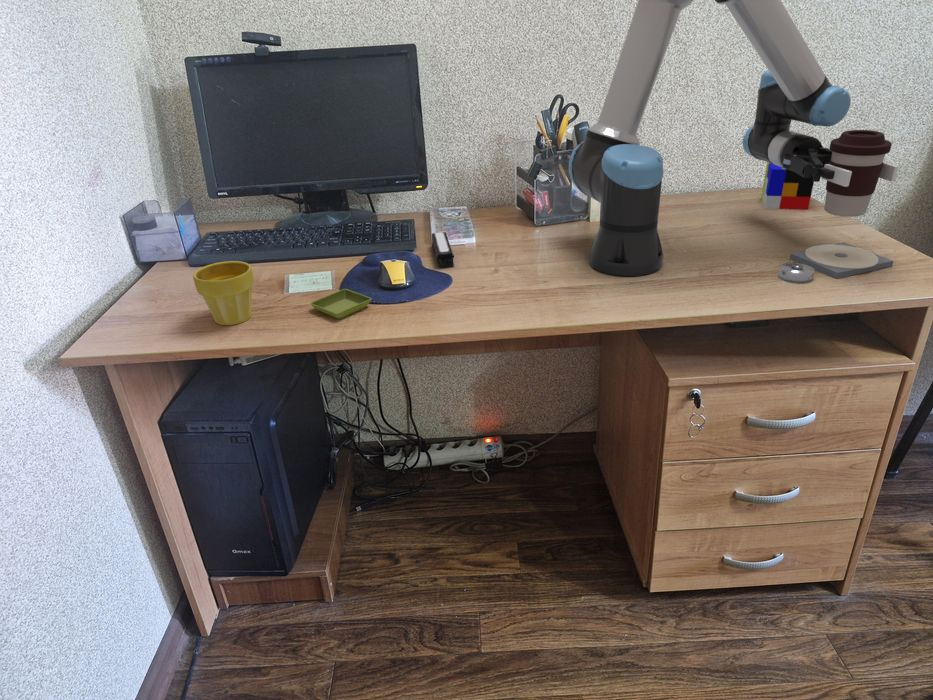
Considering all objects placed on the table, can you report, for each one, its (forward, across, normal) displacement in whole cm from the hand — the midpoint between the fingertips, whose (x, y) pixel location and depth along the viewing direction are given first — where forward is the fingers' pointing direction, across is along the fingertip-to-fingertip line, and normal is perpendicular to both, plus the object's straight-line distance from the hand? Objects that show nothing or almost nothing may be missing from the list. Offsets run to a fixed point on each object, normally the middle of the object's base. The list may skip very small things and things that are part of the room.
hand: (871, 176), depth 117 cm
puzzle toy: (-43, -14, -19) cm, 49 cm away
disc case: (-3, 0, -18) cm, 19 cm away
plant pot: (-12, +120, -18) cm, 122 cm away
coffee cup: (-5, 0, -8) cm, 9 cm away
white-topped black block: (-35, +76, -19) cm, 86 cm away
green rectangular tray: (-11, +100, -18) cm, 102 cm away
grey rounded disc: (+1, +12, -18) cm, 22 cm away
